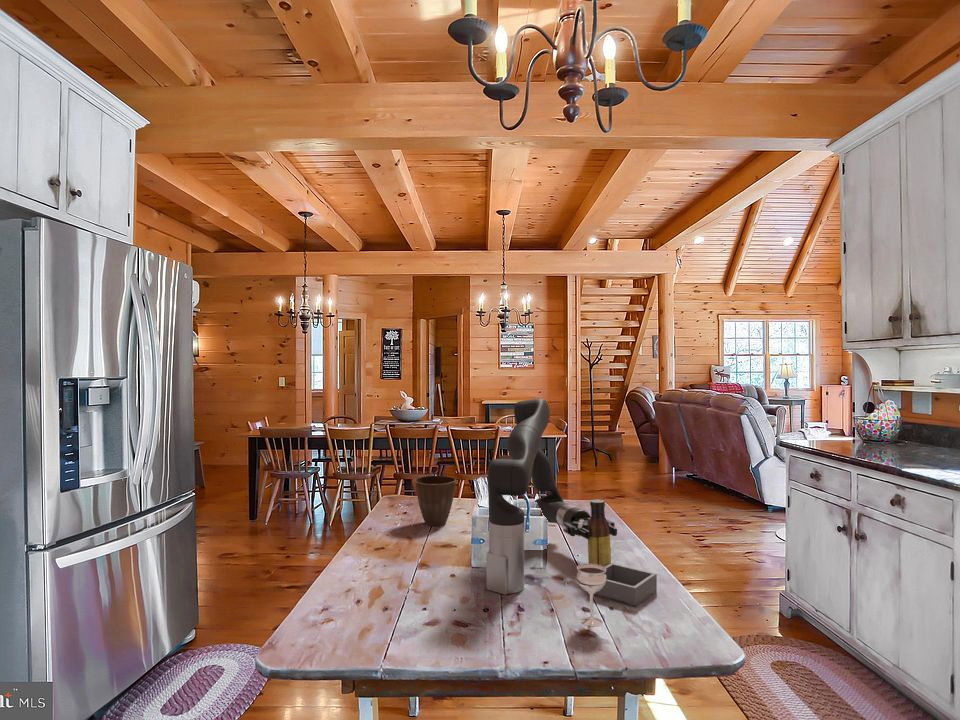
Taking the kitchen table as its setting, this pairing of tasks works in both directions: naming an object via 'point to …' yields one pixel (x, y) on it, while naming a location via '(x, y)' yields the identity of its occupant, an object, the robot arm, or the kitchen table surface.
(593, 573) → the wineglass
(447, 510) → the plant pot
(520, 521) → the robot arm
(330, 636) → the kitchen table surface
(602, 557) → the sauce bottle
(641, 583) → the grey shallow tray
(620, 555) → the kitchen table surface
